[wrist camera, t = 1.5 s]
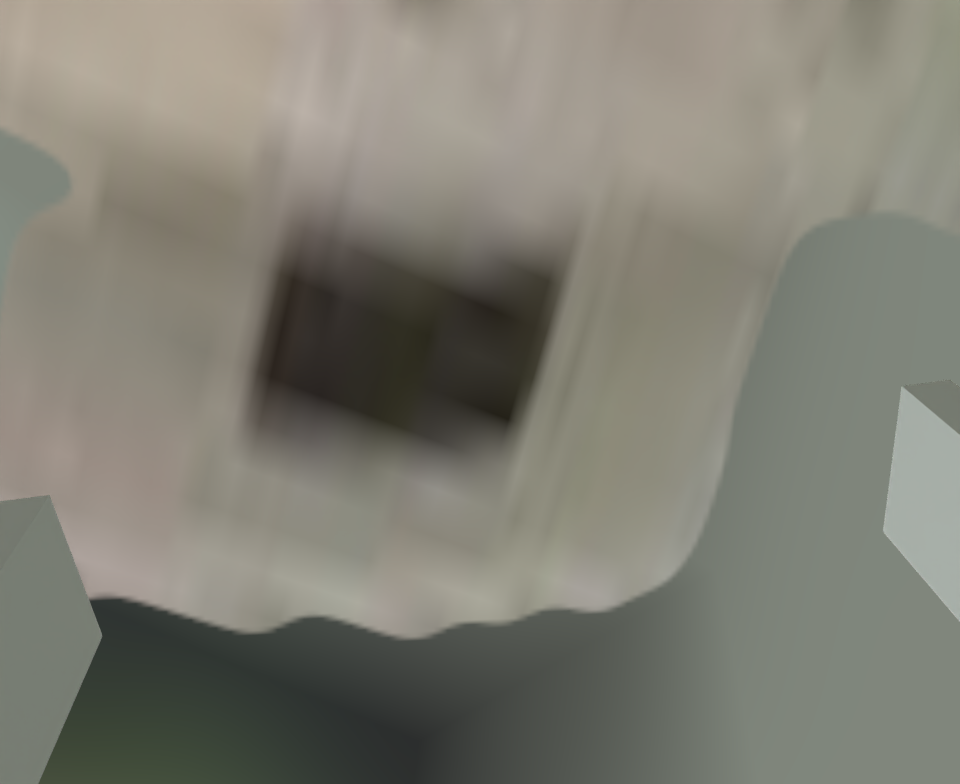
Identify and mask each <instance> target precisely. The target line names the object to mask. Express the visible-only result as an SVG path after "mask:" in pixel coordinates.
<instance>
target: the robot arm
mask: <svg viewBox="0 0 960 784" xmlns="http://www.w3.org/2000/svg"><path fill="white" fill-rule="evenodd" d="M883 532H884V533H885V535H886V536H887V537H888V538H889V539H890V540H891V542H892V543H893V544H894V545H895V546H896V547H897V549H898V550H899V551H900V552H901V553H902V555H903V556H904V557H905V558H906V559H907V560H908V561H909V563H910V564H911V565H912V566H913V567H914V569H915V570H916V571H917V572H918V573H919V574H920V576H921V577H922V578H923V579H924V580H925V582H926V583H927V584H928V585H929V586H930V587H931V588H932V590H933V591H934V592H935V593H936V594H937V596H938V597H939V598H940V599H941V600H942V602H943V603H944V604H945V605H946V606H947V607H948V608H949V610H950V611H951V612H952V613H953V614H954V616H955V617H956V618H957V619H958V620H959V621H960V387H959V386H957V385H956V384H955V383H953V382H952V381H951V380H945V381H937V382H929V383H921V384H914V385H906V386H902V388H901V396H900V404H899V411H898V419H897V427H896V435H895V442H894V450H893V458H892V466H891V473H890V481H889V490H888V497H887V505H886V512H885V520H884V528H883ZM101 638H102V634H101V631H100V629H99V626H98V623H97V620H96V618H95V615H94V612H93V610H92V607H91V604H90V602H89V599H88V596H87V594H86V591H85V588H84V586H83V583H82V580H81V578H80V575H79V572H78V570H77V567H76V565H75V562H74V559H73V557H72V554H71V551H70V549H69V546H68V543H67V541H66V538H65V535H64V533H63V530H62V527H61V525H60V522H59V519H58V517H57V514H56V511H55V509H54V506H53V503H52V501H51V498H50V495H47V496H39V497H31V498H23V499H16V500H8V501H0V784H38V782H39V780H40V778H41V776H42V773H43V771H44V769H45V767H46V764H47V762H48V759H49V757H50V755H51V753H52V750H53V748H54V746H55V744H56V741H57V739H58V737H59V734H60V732H61V730H62V727H63V725H64V722H65V720H66V718H67V716H68V714H69V711H70V709H71V707H72V704H73V702H74V700H75V698H76V695H77V693H78V691H79V688H80V686H81V684H82V681H83V679H84V677H85V675H86V672H87V669H88V668H89V665H90V663H91V661H92V658H93V656H94V654H95V651H96V649H97V647H98V645H99V642H100V640H101Z"/></svg>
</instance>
